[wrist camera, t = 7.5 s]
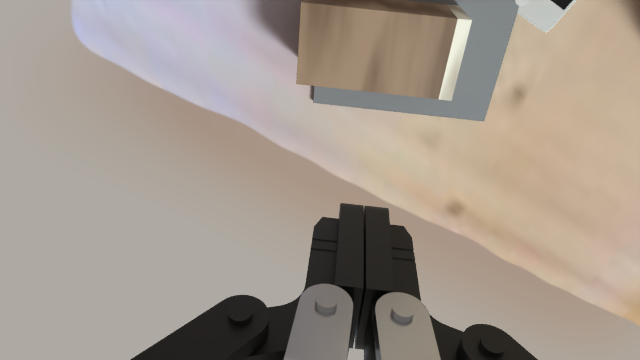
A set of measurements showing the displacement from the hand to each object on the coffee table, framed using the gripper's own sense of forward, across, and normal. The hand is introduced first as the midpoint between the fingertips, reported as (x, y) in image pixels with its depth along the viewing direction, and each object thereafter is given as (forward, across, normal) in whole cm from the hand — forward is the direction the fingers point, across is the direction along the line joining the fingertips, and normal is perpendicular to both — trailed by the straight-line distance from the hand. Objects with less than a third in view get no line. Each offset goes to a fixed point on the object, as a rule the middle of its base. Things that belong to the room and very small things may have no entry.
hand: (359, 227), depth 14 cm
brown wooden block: (+24, +5, +1) cm, 25 cm away
